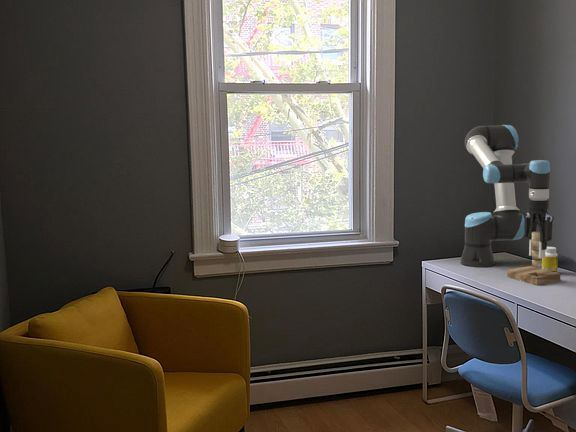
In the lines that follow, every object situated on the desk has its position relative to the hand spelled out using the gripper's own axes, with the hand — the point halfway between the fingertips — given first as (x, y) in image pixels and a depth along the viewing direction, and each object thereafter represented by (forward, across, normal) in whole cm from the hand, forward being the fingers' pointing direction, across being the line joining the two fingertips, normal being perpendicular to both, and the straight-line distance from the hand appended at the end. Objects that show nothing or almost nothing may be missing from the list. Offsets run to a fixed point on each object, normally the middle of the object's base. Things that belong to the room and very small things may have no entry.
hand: (537, 256), depth 250 cm
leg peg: (+4, 0, 0) cm, 4 cm away
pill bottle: (+11, -7, +15) cm, 20 cm away
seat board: (+11, -4, +2) cm, 11 cm away
